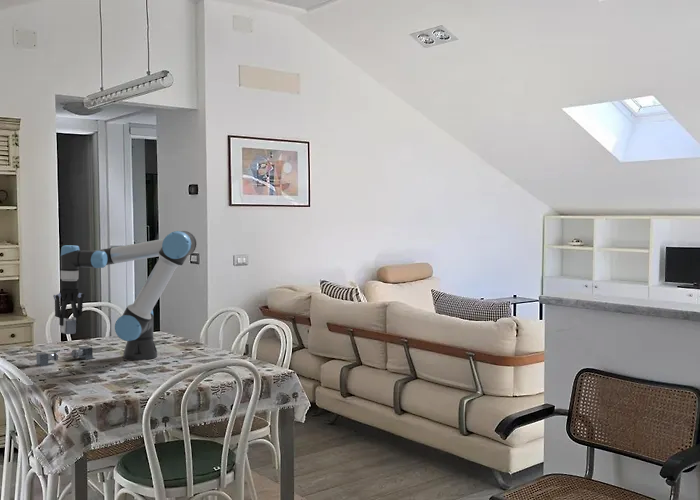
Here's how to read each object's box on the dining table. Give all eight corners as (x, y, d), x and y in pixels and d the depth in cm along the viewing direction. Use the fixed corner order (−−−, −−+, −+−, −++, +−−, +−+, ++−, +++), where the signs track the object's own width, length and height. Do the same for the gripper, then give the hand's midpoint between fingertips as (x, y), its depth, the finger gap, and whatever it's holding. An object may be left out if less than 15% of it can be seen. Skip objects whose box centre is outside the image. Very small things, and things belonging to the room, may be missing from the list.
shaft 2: (85, 357, 333) (85, 346, 332) (92, 358, 330) (92, 347, 330) (70, 359, 326) (70, 348, 326) (77, 361, 323) (77, 350, 323)
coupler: (60, 332, 321) (61, 319, 321) (69, 331, 324) (69, 318, 324) (66, 334, 318) (67, 320, 317) (75, 333, 321) (75, 320, 320)
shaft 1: (54, 362, 321) (54, 350, 321) (58, 363, 317) (58, 352, 317) (36, 364, 316) (36, 352, 316) (40, 366, 312) (39, 354, 312)
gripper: (83, 278, 329) (82, 329, 330) (46, 280, 316) (45, 332, 317) (91, 280, 324) (90, 331, 325) (54, 281, 311) (53, 335, 312)
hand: (68, 332), depth 321 cm, fingers closed on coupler, 4 cm apart
